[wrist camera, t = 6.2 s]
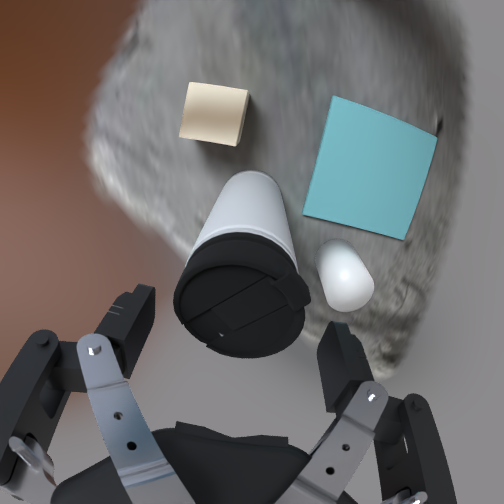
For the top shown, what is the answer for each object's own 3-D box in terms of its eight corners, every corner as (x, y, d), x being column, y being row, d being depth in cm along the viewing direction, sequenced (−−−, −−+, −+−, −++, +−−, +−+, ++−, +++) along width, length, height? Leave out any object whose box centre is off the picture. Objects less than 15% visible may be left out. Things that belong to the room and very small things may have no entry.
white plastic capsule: (322, 234, 32) (336, 265, 26) (361, 243, 32) (381, 274, 26) (309, 272, 34) (319, 308, 28) (347, 279, 35) (362, 314, 28)
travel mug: (295, 202, 30) (338, 332, 13) (245, 235, 32) (227, 384, 14) (260, 155, 28) (258, 228, 10) (210, 192, 30) (140, 309, 12)
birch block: (201, 87, 25) (189, 81, 21) (250, 95, 26) (247, 90, 21) (192, 133, 28) (179, 137, 23) (239, 141, 28) (235, 146, 23)
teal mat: (332, 96, 25) (333, 95, 25) (434, 137, 26) (437, 137, 25) (301, 212, 31) (302, 214, 30) (401, 238, 32) (403, 240, 31)
